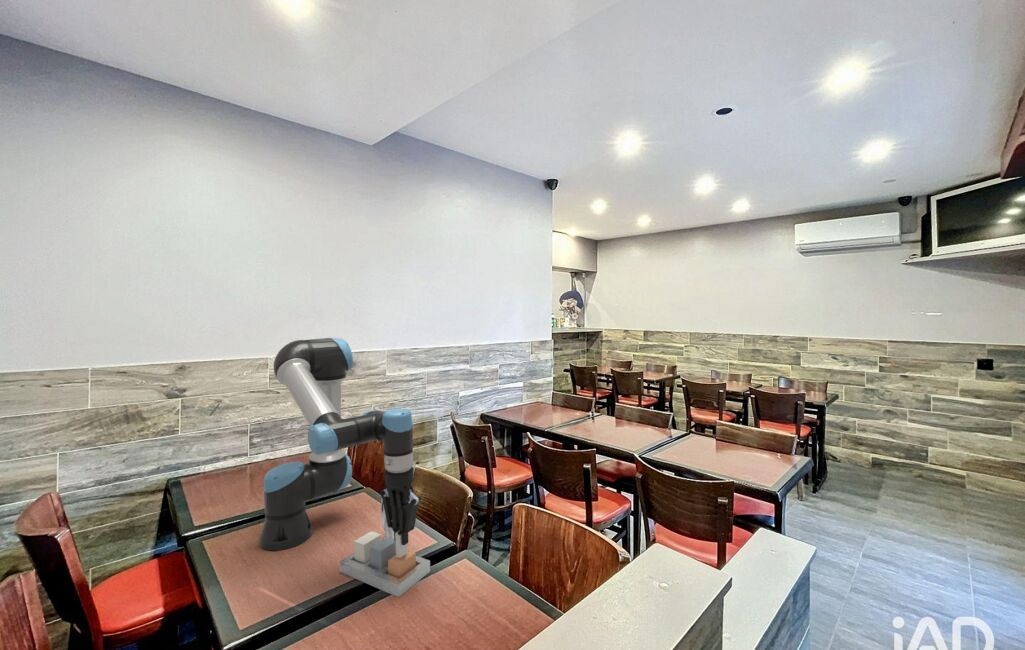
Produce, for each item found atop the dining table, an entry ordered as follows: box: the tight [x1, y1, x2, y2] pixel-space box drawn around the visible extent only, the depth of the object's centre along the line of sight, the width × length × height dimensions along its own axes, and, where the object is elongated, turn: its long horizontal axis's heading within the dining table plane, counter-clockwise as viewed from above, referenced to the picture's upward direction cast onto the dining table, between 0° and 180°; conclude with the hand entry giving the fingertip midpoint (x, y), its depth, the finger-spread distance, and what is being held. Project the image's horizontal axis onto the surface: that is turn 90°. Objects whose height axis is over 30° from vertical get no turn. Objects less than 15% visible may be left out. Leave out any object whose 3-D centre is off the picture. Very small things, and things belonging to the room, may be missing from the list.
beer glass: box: [380, 498, 394, 539], centre depth 133 cm, size 7×7×15 cm
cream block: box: [353, 531, 382, 563], centre depth 121 cm, size 4×6×5 cm, turn 150°
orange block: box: [388, 549, 417, 579], centre depth 114 cm, size 4×6×5 cm, turn 150°
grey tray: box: [339, 552, 431, 598], centre depth 118 cm, size 22×12×4 cm, turn 60°
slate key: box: [370, 537, 396, 569], centre depth 117 cm, size 4×6×5 cm, turn 150°
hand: (401, 554), depth 114 cm, fingers closed
